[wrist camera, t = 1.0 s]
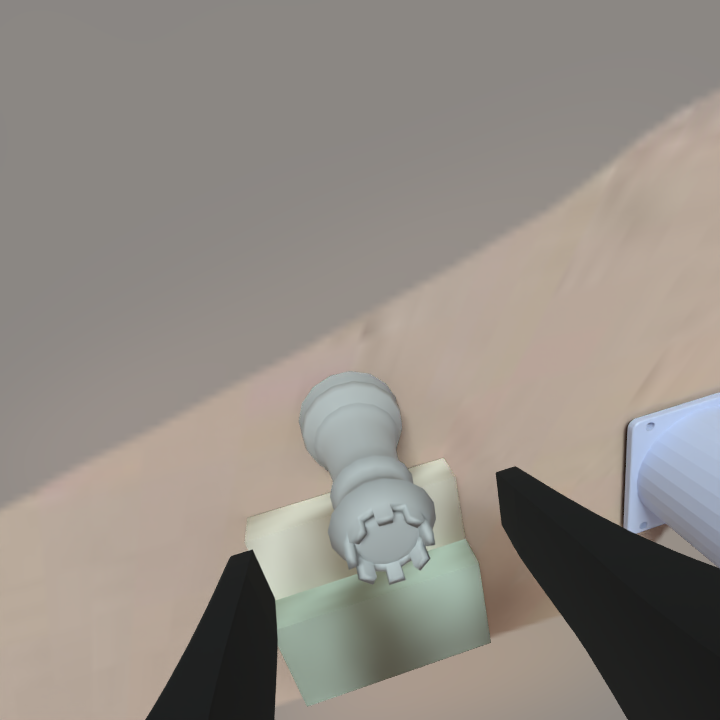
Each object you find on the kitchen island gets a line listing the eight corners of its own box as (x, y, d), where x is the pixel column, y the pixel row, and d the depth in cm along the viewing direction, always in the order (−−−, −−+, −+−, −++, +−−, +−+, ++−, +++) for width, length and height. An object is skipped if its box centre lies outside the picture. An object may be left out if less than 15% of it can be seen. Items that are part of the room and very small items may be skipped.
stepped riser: (443, 458, 20) (468, 498, 17) (467, 592, 24) (491, 642, 21) (247, 518, 19) (241, 569, 17) (304, 647, 23) (307, 706, 21)
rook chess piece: (393, 450, 20) (459, 598, 12) (300, 458, 19) (311, 621, 11) (397, 364, 18) (477, 474, 11) (296, 369, 17) (306, 492, 10)
